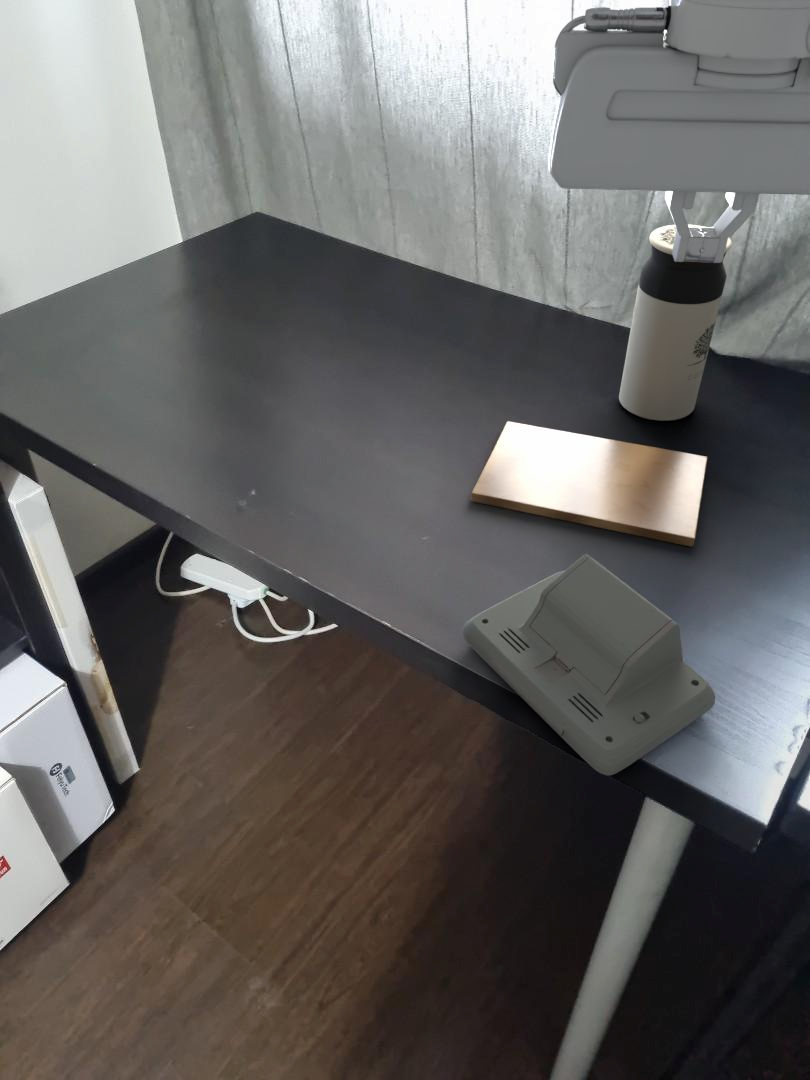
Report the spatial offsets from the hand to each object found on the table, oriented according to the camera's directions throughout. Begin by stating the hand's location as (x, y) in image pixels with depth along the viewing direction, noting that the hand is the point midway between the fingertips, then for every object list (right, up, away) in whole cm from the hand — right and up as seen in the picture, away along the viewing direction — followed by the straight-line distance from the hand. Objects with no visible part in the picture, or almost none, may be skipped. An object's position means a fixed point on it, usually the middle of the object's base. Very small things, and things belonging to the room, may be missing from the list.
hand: (696, 259), depth 54 cm
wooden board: (-1, -13, +25) cm, 28 cm away
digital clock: (-2, -24, +7) cm, 25 cm away
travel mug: (+8, -4, +36) cm, 37 cm away
